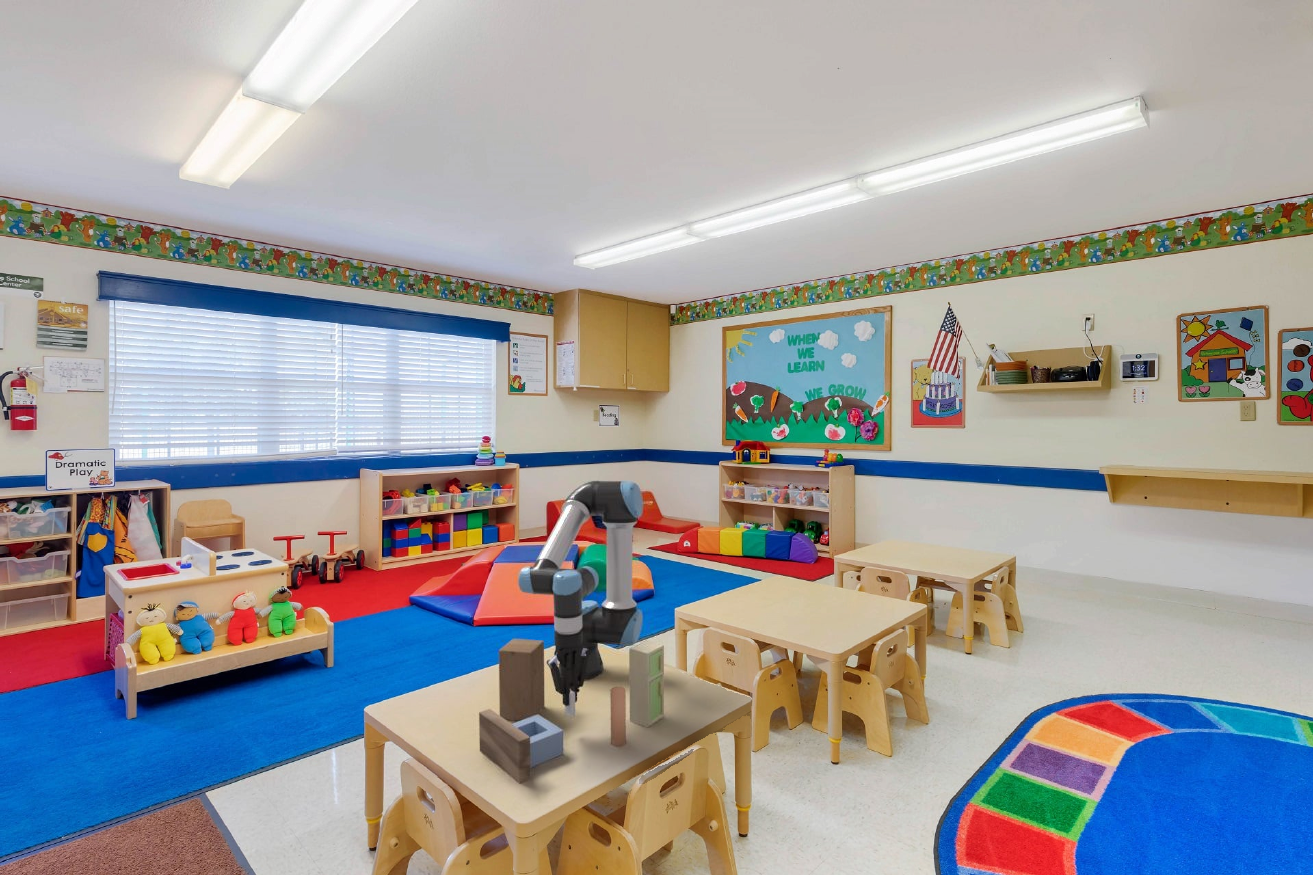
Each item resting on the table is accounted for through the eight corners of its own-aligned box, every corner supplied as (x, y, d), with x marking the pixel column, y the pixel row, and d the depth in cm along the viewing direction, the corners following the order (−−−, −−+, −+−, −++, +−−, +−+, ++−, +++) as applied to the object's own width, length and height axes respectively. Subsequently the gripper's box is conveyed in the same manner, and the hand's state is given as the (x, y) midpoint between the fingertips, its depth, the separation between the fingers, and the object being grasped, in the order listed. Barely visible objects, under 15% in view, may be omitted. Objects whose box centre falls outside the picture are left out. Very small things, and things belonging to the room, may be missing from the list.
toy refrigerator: (649, 728, 174) (649, 653, 173) (629, 721, 178) (628, 647, 177) (666, 717, 180) (666, 645, 179) (646, 710, 184) (646, 639, 184)
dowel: (619, 736, 169) (619, 685, 169) (629, 742, 166) (628, 689, 166) (607, 741, 167) (607, 689, 166) (617, 747, 164) (616, 694, 163)
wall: (490, 746, 165) (489, 708, 164) (530, 778, 150) (530, 736, 150) (479, 750, 163) (479, 712, 162) (519, 783, 148) (518, 741, 148)
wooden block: (531, 722, 178) (531, 652, 177) (499, 719, 180) (498, 649, 179) (545, 706, 187) (544, 640, 187) (513, 703, 189) (513, 637, 189)
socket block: (538, 736, 170) (538, 714, 170) (563, 753, 161) (563, 730, 161) (497, 752, 162) (497, 729, 161) (521, 771, 153) (521, 746, 153)
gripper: (580, 620, 176) (581, 702, 177) (539, 632, 167) (542, 718, 168) (596, 626, 170) (598, 711, 172) (555, 639, 161) (557, 729, 163)
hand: (570, 715), depth 170 cm, fingers closed
